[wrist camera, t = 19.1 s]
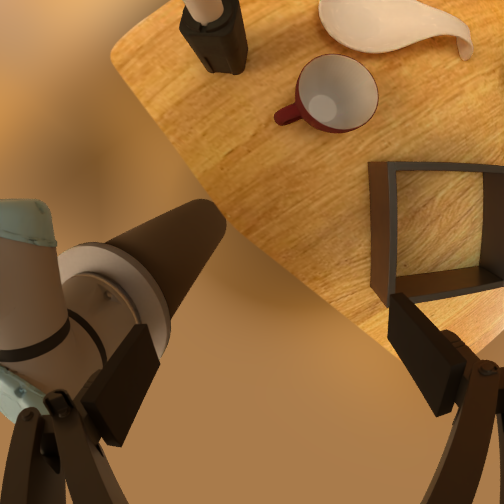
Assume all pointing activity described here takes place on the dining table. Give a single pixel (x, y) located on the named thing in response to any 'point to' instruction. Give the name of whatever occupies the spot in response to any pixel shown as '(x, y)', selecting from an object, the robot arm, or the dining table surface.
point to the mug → (332, 95)
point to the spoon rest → (390, 24)
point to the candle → (216, 34)
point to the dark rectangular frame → (444, 282)
